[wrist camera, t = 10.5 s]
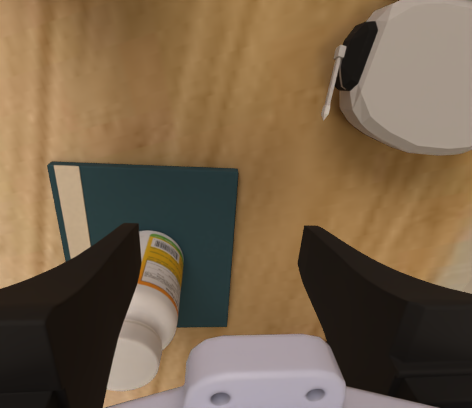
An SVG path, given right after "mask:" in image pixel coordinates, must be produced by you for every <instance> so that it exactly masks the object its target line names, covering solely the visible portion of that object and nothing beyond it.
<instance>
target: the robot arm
mask: <svg viewBox="0 0 472 408" xmlns="http://www.w3.org/2000/svg"><path fill="white" fill-rule="evenodd" d="M141 264H142V261H141V248H140V235H139V223H123V224H121V225H120V226H119V227H117V228H116V229H115V230H113V231H112V232H111V233H109V234H108V235H107V236H105V237H104V238H102V239H101V240H100V241H98V242H97V243H96V244H94V245H93V246H91V247H89V248H88V249H86V250H85V251H83V252H82V253H80V254H79V255H77V256H75V257H74V258H72V259H70V260H68V261H67V262H65V263H63V264H61V265H59V266H57V267H55V268H53V269H51V270H49V271H46V272H44V273H42V274H39V275H37V276H35V277H32V278H30V279H28V280H25V281H22V282H20V283H17V284H14V285H11V286H8V287H5V288H2V289H0V408H103V404H104V399H105V394H106V389H107V384H108V380H109V375H110V371H111V367H112V362H113V358H114V354H115V350H116V346H117V341H118V337H119V334H120V331H121V328H122V325H123V322H124V319H125V317H126V314H127V311H128V309H129V306H130V303H131V300H132V298H133V295H134V292H135V289H136V286H137V283H138V279H139V274H140V269H141ZM298 267H299V271H300V275H301V278H302V282H303V284H304V287H305V289H306V291H307V294H308V296H309V298H310V301H311V303H312V305H313V307H314V310H315V312H316V314H317V316H318V319H319V321H320V323H321V326H322V328H323V331H324V333H325V336H326V340H327V343H326V342H325V341H324V340H322V339H321V338H320V337H316V336H311V335H305V334H270V335H224V336H219V337H214V338H209V339H206V340H204V341H203V342H201V343H200V344H199V345H197V346H196V347H194V348H193V349H192V350H191V352H190V354H189V357H188V359H187V362H186V374H185V384H184V385H183V386H181V387H178V388H174V389H170V390H167V391H163V392H160V393H156V394H152V395H149V396H145V397H142V398H138V399H134V400H131V401H127V402H124V403H120V404H116V405H113V406H109V407H105V408H472V294H470V293H465V292H461V291H457V290H453V289H449V288H445V287H442V286H438V285H435V284H432V283H429V282H426V281H423V280H420V279H417V278H414V277H412V276H409V275H406V274H404V273H401V272H399V271H396V270H394V269H392V268H390V267H388V266H385V265H383V264H381V263H379V262H377V261H375V260H373V259H371V258H370V257H368V256H366V255H364V254H362V253H361V252H359V251H357V250H356V249H354V248H352V247H351V246H349V245H348V244H346V243H345V242H343V241H341V240H340V239H338V238H337V237H335V236H334V235H332V234H331V233H329V232H328V231H326V230H324V229H323V228H321V227H319V226H304V230H303V236H302V242H301V247H300V253H299V259H298Z"/></svg>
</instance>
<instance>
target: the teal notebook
mask: <svg viewBox="0 0 472 408" xmlns="http://www.w3.org/2000/svg"><path fill="white" fill-rule="evenodd" d="M47 167H48V172H49V178H50V183H51V188H52V193H53V198H54V203H55V209H56V214H57V219H58V224H59V229H60V235H61V240H62V245H63V250H64V255H65V260H66V262H67V261H68V260H70V259H72V258H74V257H75V256H77V255H79V254H80V253H82V252H83V251H85V250H86V249H88V248H89V247H91V246H93V245H94V244H96V243H97V242H98V241H100V240H101V239H102V238H104V237H105V236H107V235H108V234H109V233H111V232H112V231H113V230H115V229H116V228H117V227H119V226H120V225H121V224H123V223H139V231H146V230H150V231H157V232H160V233H163V234H165V235H167V236H169V237H170V238H172V239H173V240H174V241H175V242H176V243H177V244H178V246H179V247H180V249H181V251H182V254H183V259H184V263H183V274H182V283H181V292H180V302H179V312H178V322H177V327H227V319H228V306H229V293H230V279H231V266H232V253H233V239H234V226H235V213H236V199H237V186H238V169H234V168H207V167H181V166H154V165H128V164H101V163H75V162H51V163H49V164H48V165H47Z"/></svg>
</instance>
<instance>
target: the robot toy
mask: <svg viewBox="0 0 472 408" xmlns="http://www.w3.org/2000/svg"><path fill="white" fill-rule="evenodd" d="M334 59H335V64H334V68H333V72H332V76H331V81H330V85H329V89H328V93H327V97H326V101H325V105H324V106H323V109H322V113H321V115H322V119H323V121H324V119H325V118H326V117H327V116H328V114H329V110H330V102H331V98H332V94H333V90H334V86H335V87H336V88H337V89H338V90H339V102H340V109H341V111H342V112H343V114H344V116H345V117H346V119H347V120H348V121H349V122H350V123H351V124H352V125H353V126H354V127H355V128H357V129H358V130H360V131H361V132H363V133H364V134H366V135H368V136H370V137H372V138H374V139H376V140H378V141H380V142H382V143H384V144H386V145H388V146H390V147H393V148H396V149H399V150H401V151H404V152H407V153H418V154H428V155H455V154H461V153H464V152H467V151H469V150H472V0H400V1H397V2H395V3H393V4H390V5H388V6H385V7H383V8H380V9H378V10H376V11H374V12H373V14H372V15H371V16H370V17H369V19H368V20H367V21H366V22H364V23H362V24H359V25H356V26H355V27H354V29H353V30H352V31H351V33H350V34H349V35H348V37H347V38H346V39H345V41H344V43H343V45H339V46H338V47H337V48H336V50H335V55H334Z"/></svg>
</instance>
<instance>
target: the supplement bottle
mask: <svg viewBox="0 0 472 408" xmlns="http://www.w3.org/2000/svg"><path fill="white" fill-rule="evenodd" d="M139 235H140V248H141V261H142V264H141V269H140V274H139V279H138V283H137V286H136V289H135V292H134V295H133V298H132V300H131V303H130V306H129V309H128V311H127V314H126V317H125V319H124V322H123V325H122V328H121V331H120V334H119V337H118V341H117V346H116V350H115V354H114V358H113V362H112V367H111V371H110V375H109V380H108V384H107V390H112V391H129V390H134V389H137V388H140V387H142V386H144V385H146V384H148V383H149V382H150V381H151V380H152V379H153V378H154V377H155V376H156V374H157V372H158V369H159V364H160V359H161V355H162V350H163V349H165V348H166V347H167V346H168V345H169V343H170V342H171V340H172V339H173V337H174V335H175V332H176V328H177V322H178V312H179V302H180V292H181V283H182V274H183V263H184V259H183V254H182V251H181V249H180V247H179V246H178V244H177V243H176V242H175V241H174V240H173V239H172V238H170V237H169V236H167V235H165V234H163V233H160V232H157V231H150V230H146V231H139Z"/></svg>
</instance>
